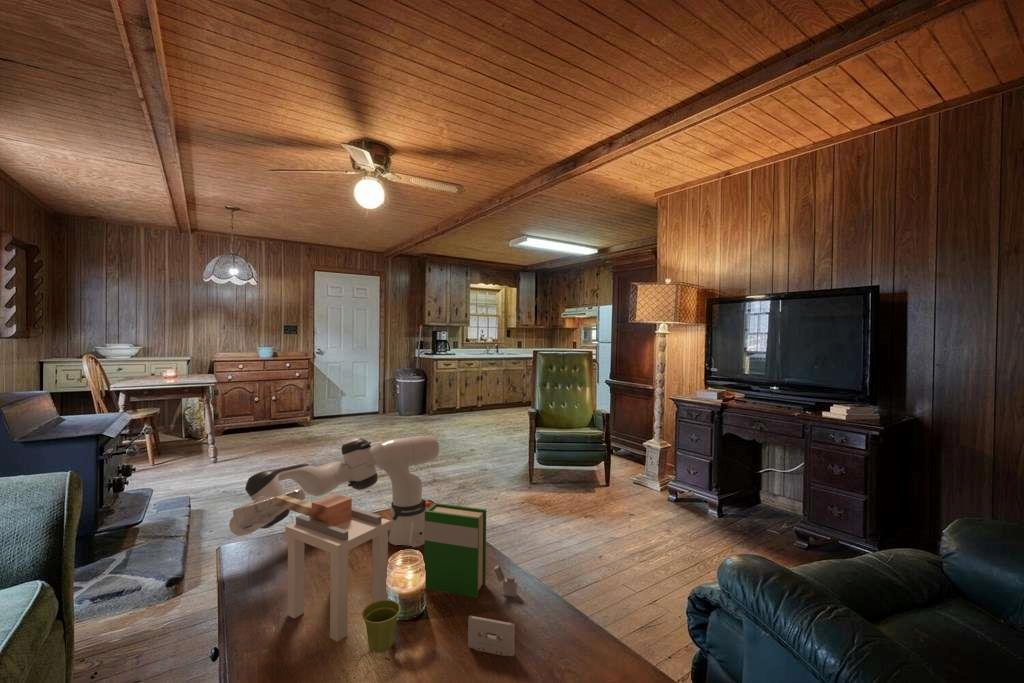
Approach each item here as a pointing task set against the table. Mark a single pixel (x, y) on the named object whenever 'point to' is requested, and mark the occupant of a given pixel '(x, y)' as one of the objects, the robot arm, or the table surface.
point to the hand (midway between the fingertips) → (284, 496)
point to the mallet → (320, 508)
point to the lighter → (507, 583)
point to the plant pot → (381, 624)
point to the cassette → (491, 636)
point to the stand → (336, 561)
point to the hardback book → (455, 549)
